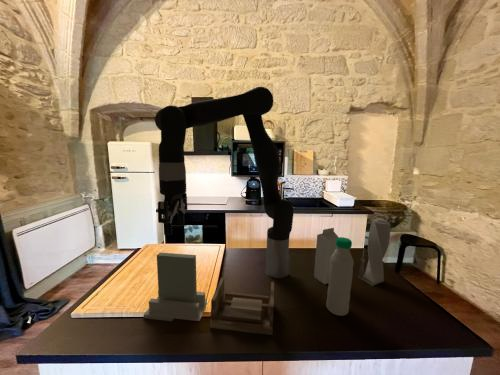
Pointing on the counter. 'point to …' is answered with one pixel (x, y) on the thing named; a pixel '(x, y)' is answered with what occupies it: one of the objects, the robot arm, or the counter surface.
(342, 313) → the water bottle
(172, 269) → the sage panel
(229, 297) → the oak rack
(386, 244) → the skyscraper
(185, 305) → the grey stand
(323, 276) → the milk
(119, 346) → the counter surface
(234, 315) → the pine offcut
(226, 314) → the walnut offcut
